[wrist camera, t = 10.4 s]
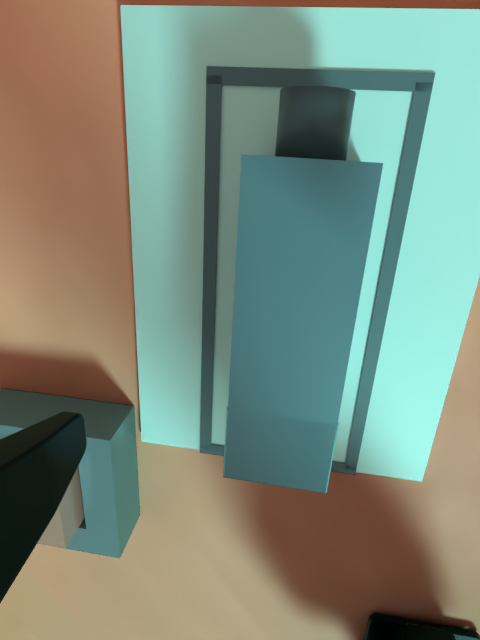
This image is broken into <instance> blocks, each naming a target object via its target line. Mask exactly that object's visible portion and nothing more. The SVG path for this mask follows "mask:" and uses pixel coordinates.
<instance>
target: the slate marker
mask: <svg viewBox="0 0 480 640" xmlns="http://www.w3.org/2000/svg"><path fill="white" fill-rule="evenodd" d="M355 95H356V92H355V91H353V90H350V89H345V88H339V87H330V86H290V87H285V88H282V89H280V100H279V113H278V125H277V137H276V149H275V156H261V155H244V154H241V173H240V191H239V210H238V229H237V247H236V266H235V285H234V303H233V322H232V341H231V359H230V378H229V397H228V407H227V410H226V428H225V448H224V467H223V477H224V478H231V479H237V480H244V481H250V482H257V483H263V484H270V485H276V486H283V487H289V488H295V489H302V490H308V491H315V492H321V493H327V488H328V483H329V477H330V472H331V466H332V460H333V455H334V449H335V443H336V438H337V432H338V426H339V423H338V418H339V413H340V407H341V401H342V395H343V390H344V384H345V378H346V373H347V367H348V361H349V356H350V350H351V344H352V339H353V333H354V327H355V322H356V316H357V310H358V305H359V299H360V293H361V287H362V282H363V276H364V270H365V265H366V259H367V253H368V248H369V242H370V236H371V231H372V225H373V219H374V214H375V208H376V202H377V197H378V191H379V185H380V179H381V174H382V168H383V163H375V162H360V161H346V158H347V151H348V144H349V137H350V130H351V123H352V116H353V109H354V102H355Z"/></svg>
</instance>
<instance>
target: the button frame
mask: <svg viewBox="0 0 480 640" xmlns="http://www.w3.org/2000/svg"><path fill="white" fill-rule="evenodd" d="M63 411H72V412H79V413H81V414H82V415H83V417H84V422H85V430H86V439H87V446H86V450H85V453H84V455H83V457H82V459H81V461H80V464H79V474H80V482H81V490H82V498H83V506H84V514H85V518H84V519H83V521H82V523H81V524H80V526H79V528H78V529H77V531H76V532H75V534H74V536H73V537H72V539H71V541H70V542H69V544H68V546H67V547H66V549H71V550H77V551H82V552H88V553H93V554H99V555H104V556H110V557H116V558H120V557H121V555H122V553H123V550H124V548H125V546H126V544H127V542H128V540H129V537H130V535H131V533H132V531H133V529H134V527H135V525H136V522H137V520H138V518H139V516H140V506H139V487H138V469H137V451H136V433H135V415H134V406H131V405H123V404H116V403H108V402H101V401H93V400H86V399H78V398H70V397H63V396H55V395H48V394H40V393H33V392H25V391H17V390H10V389H2V388H0V439H2V438H4V437H7V436H9V435H11V434H13V433H16V432H18V431H20V430H22V429H24V428H27V427H29V426H31V425H33V424H36V423H38V422H40V421H42V420H45V419H47V418H49V417H51V416H53V415H56V414H58V413H60V412H63Z"/></svg>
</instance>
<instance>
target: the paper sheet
mask: <svg viewBox="0 0 480 640" xmlns="http://www.w3.org/2000/svg"><path fill="white" fill-rule="evenodd" d="M120 9H121V29H122V50H123V71H124V91H125V112H126V132H127V153H128V173H129V194H130V215H131V235H132V256H133V276H134V297H135V317H136V338H137V359H138V379H139V400H140V420H141V441H142V442H149V443H156V444H163V445H170V446H177V447H184V448H191V449H198V450H200V453H206V454H213V455H220V456H224V448H225V428H226V410H227V407H228V397H229V378H230V359H231V341H232V322H233V303H234V285H235V266H236V247H237V229H238V210H239V191H240V173H241V154H244V155H261V156H275V149H276V137H277V125H278V113H279V100H280V89H282V88H285V87H290V86H330V87H339V88H345V89H350V90H353V91H355V92H356V95H355V102H354V109H353V116H352V123H351V130H350V137H349V144H348V151H347V158H346V161H360V162H375V163H383V168H382V174H381V179H380V185H379V191H378V197H377V202H376V208H375V214H374V219H373V225H372V231H371V236H370V242H369V248H368V253H367V259H366V265H365V270H364V276H363V282H362V287H361V293H360V299H359V305H358V310H357V316H356V322H355V327H354V333H353V339H352V344H351V350H350V356H349V361H348V367H347V373H346V378H345V384H344V390H343V395H342V401H341V407H340V413H339V418H338V423H339V426H338V432H337V438H336V443H335V449H334V455H333V460H332V466H331V471H332V472H339V473H346V474H353V475H355V473H356V472H359V473H366V474H373V475H380V476H387V477H394V478H401V479H408V480H415V481H422V479H423V476H424V472H425V469H426V465H427V461H428V458H429V454H430V451H431V447H432V444H433V440H434V436H435V433H436V429H437V426H438V422H439V419H440V415H441V411H442V408H443V404H444V401H445V397H446V394H447V390H448V386H449V383H450V379H451V376H452V372H453V369H454V365H455V361H456V358H457V354H458V351H459V347H460V344H461V340H462V336H463V333H464V329H465V326H466V322H467V319H468V315H469V311H470V308H471V304H472V301H473V297H474V294H475V290H476V286H477V283H478V279H479V276H480V9H423V8H338V7H253V6H168V5H120Z"/></svg>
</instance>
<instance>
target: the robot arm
mask: <svg viewBox="0 0 480 640" xmlns="http://www.w3.org/2000/svg"><path fill="white" fill-rule="evenodd" d="M86 446H87V439H86V430H85V422H84V417H83V415H82V414H81V413H79V412H72V411H63V412H60V413H58V414H56V415H53V416H51V417H49V418H47V419H45V420H42V421H40V422H38V423H36V424H33V425H31V426H29V427H27V428H24V429H22V430H20V431H18V432H16V433H13V434H11V435H9V436H7V437H4V438H2V439H0V603H1V601H2V600H3V598H4V596H5V595H6V593H7V591H8V590H9V588H10V587H11V585H12V583H13V582H14V580H15V578H16V577H17V575H18V573H19V572H20V570H21V569H22V567H23V565H24V564H25V562H26V560H27V559H28V557H29V556H30V554H31V552H32V551H33V549H34V547H35V546H36V544H37V543H38V541H39V539H40V538H41V536H42V534H43V533H44V531H45V530H46V528H47V526H48V525H49V523H50V521H51V520H52V518H53V516H54V514H55V513H56V511H57V509H58V507H59V505H60V503H61V501H62V499H63V497H64V495H65V493H66V490H67V488H68V486H69V484H70V482H71V480H72V478H73V476H74V474H75V472H76V470H77V468H78V466H79V464H80V461H81V459H82V457H83V455H84V453H85V450H86ZM364 640H480V635H479V634H478V633H477V632H475V631H470V630H465V629H459V628H454V627H448V626H443V625H437V624H432V623H426V622H421V621H415V620H410V619H404V618H399V617H393V616H388V615H382V614H372V615H371V616H370V617H369V621H368V624H367V628H366V632H365V636H364Z"/></svg>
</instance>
